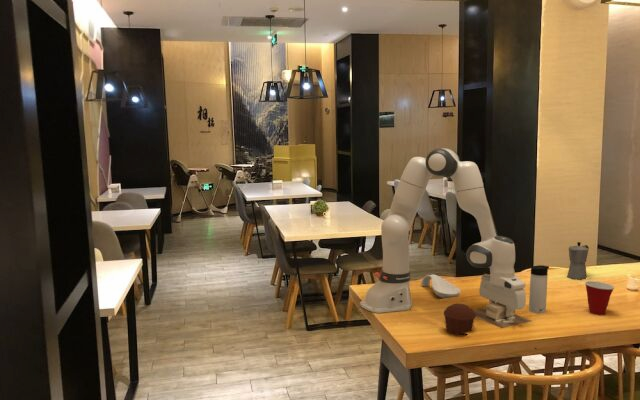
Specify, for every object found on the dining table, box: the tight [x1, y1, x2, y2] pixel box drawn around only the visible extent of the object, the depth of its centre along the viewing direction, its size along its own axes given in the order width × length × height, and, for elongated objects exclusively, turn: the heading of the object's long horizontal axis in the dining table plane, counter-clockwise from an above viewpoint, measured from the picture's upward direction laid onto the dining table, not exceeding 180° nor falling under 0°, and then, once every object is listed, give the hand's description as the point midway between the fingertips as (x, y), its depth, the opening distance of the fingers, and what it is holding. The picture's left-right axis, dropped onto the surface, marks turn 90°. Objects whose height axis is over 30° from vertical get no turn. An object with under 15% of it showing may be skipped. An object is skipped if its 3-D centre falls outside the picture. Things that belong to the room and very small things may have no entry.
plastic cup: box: [584, 280, 616, 316], centre depth 215 cm, size 11×11×12 cm
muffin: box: [443, 303, 476, 337], centre depth 196 cm, size 12×11×10 cm
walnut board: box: [472, 306, 533, 329], centre depth 208 cm, size 16×20×2 cm
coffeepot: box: [567, 241, 589, 281], centre depth 266 cm, size 15×9×18 cm, turn 126°
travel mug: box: [528, 264, 550, 314], centre depth 213 cm, size 6×7×20 cm
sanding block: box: [486, 302, 516, 320], centre depth 206 cm, size 10×5×5 cm, turn 118°
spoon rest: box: [420, 274, 462, 299], centre depth 242 cm, size 24×12×7 cm, turn 22°
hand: (500, 313), depth 206 cm, fingers closed on sanding block, 5 cm apart
